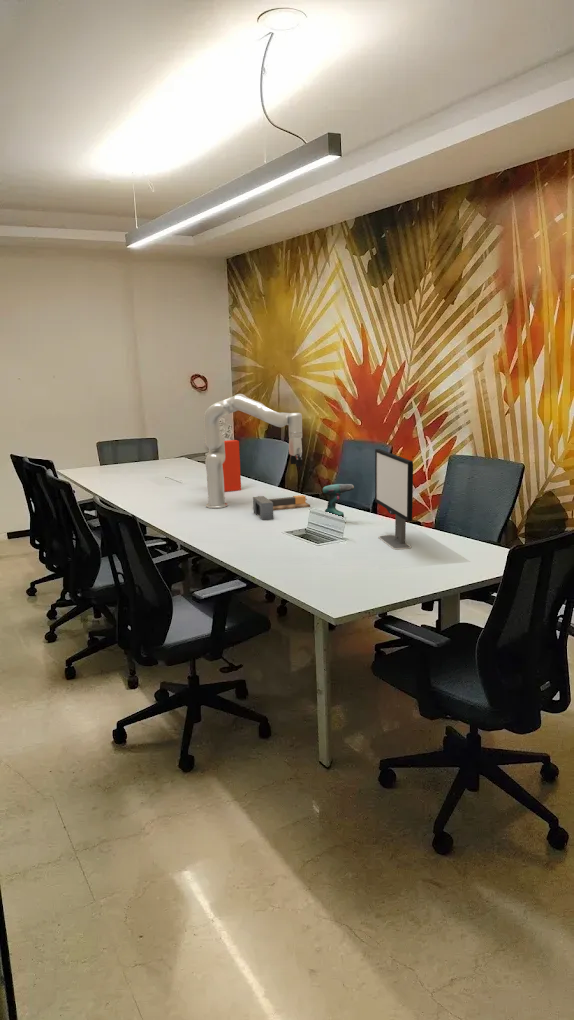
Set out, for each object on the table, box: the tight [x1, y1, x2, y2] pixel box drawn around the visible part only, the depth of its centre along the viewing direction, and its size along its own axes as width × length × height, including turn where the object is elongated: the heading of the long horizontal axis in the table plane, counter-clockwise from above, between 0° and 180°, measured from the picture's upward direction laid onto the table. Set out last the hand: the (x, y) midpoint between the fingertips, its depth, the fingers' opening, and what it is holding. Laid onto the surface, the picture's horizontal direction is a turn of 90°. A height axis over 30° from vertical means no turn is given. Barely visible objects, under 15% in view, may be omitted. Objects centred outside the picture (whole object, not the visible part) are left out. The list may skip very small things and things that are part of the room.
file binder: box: [222, 439, 242, 493], centre depth 419 cm, size 8×17×32 cm, turn 111°
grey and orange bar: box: [268, 494, 308, 506], centre depth 372 cm, size 23×4×4 cm, turn 108°
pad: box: [273, 502, 311, 512], centre depth 372 cm, size 26×14×1 cm, turn 108°
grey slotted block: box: [252, 495, 274, 521], centre depth 351 cm, size 6×18×9 cm, turn 18°
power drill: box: [322, 483, 355, 518], centre depth 332 cm, size 7×16×20 cm, turn 70°
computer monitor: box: [374, 448, 414, 551], centre depth 290 cm, size 41×8×40 cm, turn 12°
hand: (296, 465), depth 370 cm, fingers open, 9 cm apart
